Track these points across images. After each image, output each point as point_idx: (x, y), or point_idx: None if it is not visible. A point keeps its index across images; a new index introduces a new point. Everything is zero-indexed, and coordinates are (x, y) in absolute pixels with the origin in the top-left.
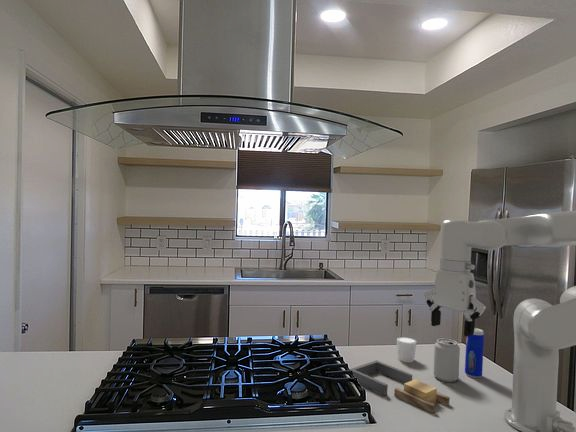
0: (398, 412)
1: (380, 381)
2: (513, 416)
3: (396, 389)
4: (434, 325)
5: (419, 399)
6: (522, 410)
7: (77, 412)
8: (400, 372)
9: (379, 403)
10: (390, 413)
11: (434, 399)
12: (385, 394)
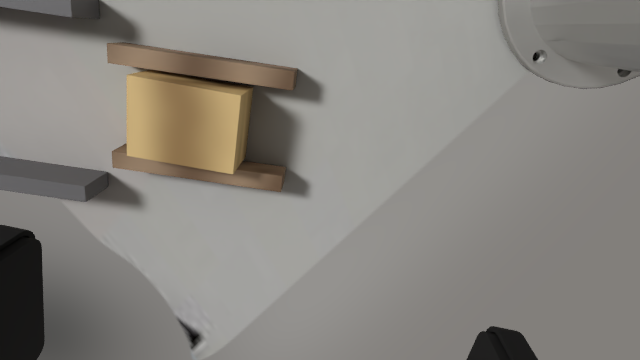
0: (207, 250)
1: (49, 183)
2: (543, 34)
3: (121, 168)
4: (40, 343)
5: (224, 181)
6: (604, 64)
7: None
8: (17, 8)
9: (134, 242)
10: (196, 271)
11: (248, 101)
12: (106, 183)
